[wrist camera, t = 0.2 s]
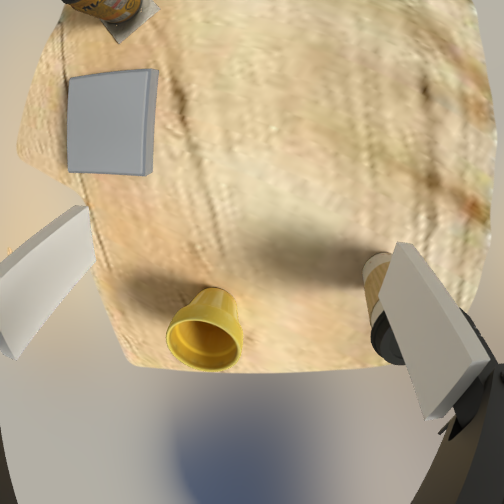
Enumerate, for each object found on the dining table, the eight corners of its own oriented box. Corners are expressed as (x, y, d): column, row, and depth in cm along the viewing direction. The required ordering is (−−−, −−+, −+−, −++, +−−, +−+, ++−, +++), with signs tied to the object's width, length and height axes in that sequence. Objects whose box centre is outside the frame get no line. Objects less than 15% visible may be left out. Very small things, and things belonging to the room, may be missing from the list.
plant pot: (206, 336, 50) (193, 379, 42) (171, 291, 47) (150, 330, 38) (260, 318, 47) (255, 363, 39) (226, 266, 44) (213, 307, 35)
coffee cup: (381, 308, 45) (407, 378, 31) (336, 278, 43) (355, 351, 30) (422, 263, 41) (466, 325, 27) (380, 227, 39) (422, 286, 26)
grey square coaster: (79, 78, 32) (67, 77, 30) (158, 70, 32) (149, 68, 29) (77, 168, 39) (66, 173, 36) (152, 172, 38) (143, 177, 36)
